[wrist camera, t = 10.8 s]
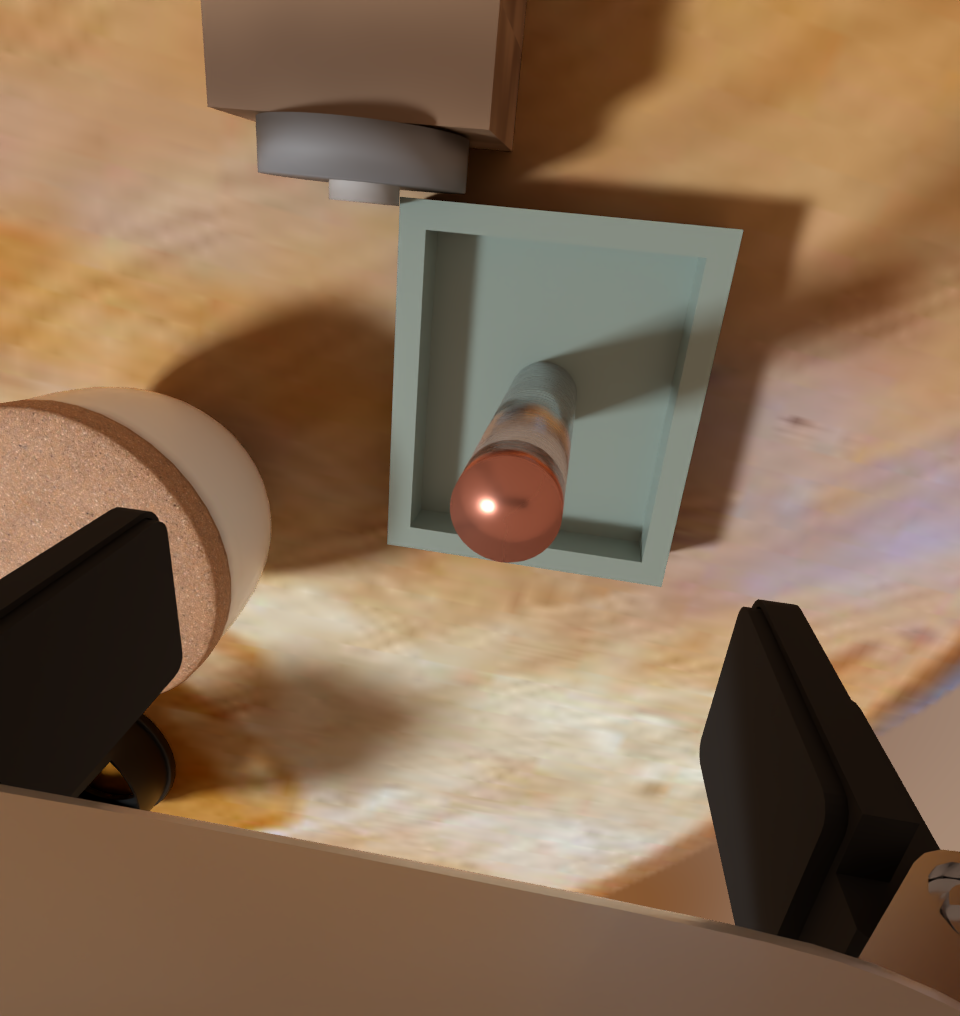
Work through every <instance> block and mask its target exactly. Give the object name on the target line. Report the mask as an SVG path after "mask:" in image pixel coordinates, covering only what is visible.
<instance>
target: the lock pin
mask: <svg viewBox="0 0 960 1016" xmlns="http://www.w3.org/2000/svg"><path fill="white" fill-rule="evenodd" d="M576 401H577V389H576V385H575V382H574V380H573V378H572V377H571V375H570V374H569V373H568V372H567V371H566V370H565V369H564V368H563V367H561V366H559V365H557V364H555V363H551V362H536V363H532V364H530V365H528V366H526V367H524V368H523V369H522V370H521V371H520V372H519V373H518V374H517V375H516V377H515V378H514V380H513V382H512V384H511V385H510V387H509V389H508V391H507V393H506V394H505V396H504V398H503V400H502V402H501V403H500V405H499V407H498V409H497V411H496V413H495V414H494V416H493V418H492V420H491V422H490V423H489V425H488V427H487V429H486V431H485V432H484V434H483V436H482V438H481V440H480V442H479V443H478V445H477V447H476V449H475V451H474V452H473V454H472V456H471V458H470V460H469V462H468V463H467V465H466V467H465V469H464V471H463V472H462V474H461V476H460V478H459V480H458V481H457V483H456V485H455V487H454V490H453V492H452V496H451V501H450V515H451V520H452V523H453V526H454V528H455V531H456V532H457V534H458V536H459V537H460V538H461V540H462V541H463V542H464V543H465V544H466V545H467V546H468V547H469V548H470V549H471V550H473V551H474V552H476V553H477V554H479V555H481V556H483V557H485V558H487V559H490V560H493V561H498V562H506V563H511V562H521V561H525V560H528V559H531V558H533V557H535V556H537V555H539V554H540V553H542V552H543V551H544V550H546V549H547V548H548V547H549V546H550V545H551V544H552V542H553V541H554V540H555V538H556V536H557V534H558V532H559V530H560V527H561V522H562V516H563V508H564V500H565V491H566V483H567V475H568V467H569V459H570V450H571V442H572V434H573V426H574V417H575V409H576Z"/></svg>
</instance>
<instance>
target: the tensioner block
mask: <svg viewBox="0 0 960 1016" xmlns="http://www.w3.org/2000/svg"><path fill="white" fill-rule="evenodd" d="M526 3H527V0H201V10H202V26H203V41H204V57H205V72H206V87H207V103H208V107H211V108H214V109H217V110H220V111H223V112H226V113H230V114H233V115H236V116H239V117H242V118H245V119H249V120H252V121H255V122H256V136H257V161H258V172H259V173H264V174H269V175H276V176H283V177H290V178H297V179H305V180H313V181H322V182H329V199H334V200H343V201H353V202H363V203H373V204H383V205H394V206H399V190H409V191H421V192H434V193H449V194H465V193H466V181H467V167H468V154H469V148H479V149H490V150H502V151H512V148H513V138H514V128H515V117H516V107H517V97H518V86H519V76H520V65H521V55H522V45H523V34H524V24H525V14H526Z"/></svg>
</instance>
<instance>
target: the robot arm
mask: <svg viewBox="0 0 960 1016" xmlns="http://www.w3.org/2000/svg"><path fill="white" fill-rule="evenodd" d="M182 658H183V652H182V644H181V635H180V627H179V619H178V611H177V603H176V595H175V587H174V579H173V571H172V562H171V554H170V546H169V538H168V531H167V527H166V525H165V524H164V523H163V522H160V521H159V519H158V517H157V516H156V514H154V513H153V512H151V511H144V510H137V509H130V508H123V507H115V508H113V509H111V510H109V511H108V512H106V513H105V514H103V515H101V516H100V517H98V518H97V519H95V520H93V521H92V522H90V523H89V524H87V525H85V526H84V527H82V528H81V529H79V530H77V531H76V532H74V533H73V534H71V535H70V536H68V537H66V538H65V539H63V540H62V541H60V542H58V543H57V544H55V545H54V546H52V547H50V548H49V549H47V550H46V551H44V552H43V553H41V554H39V555H38V556H36V557H35V558H33V559H31V560H30V561H28V562H27V563H25V564H23V565H22V566H20V567H19V568H17V569H16V570H14V571H12V572H11V573H9V574H8V575H6V576H4V577H3V578H1V579H0V1016H960V852H958V851H949V850H940V848H939V847H938V845H937V843H936V841H935V840H934V838H933V836H932V834H931V833H930V831H929V829H928V827H927V825H926V824H925V822H924V820H923V819H922V817H921V815H920V813H919V811H918V810H917V808H916V806H915V804H914V802H913V801H912V799H911V797H910V796H909V794H908V792H907V790H906V788H905V787H904V785H903V783H902V781H901V779H900V778H899V776H898V774H897V772H896V771H895V769H894V767H893V765H892V764H891V762H890V760H889V758H888V756H887V755H886V753H885V751H884V749H883V748H882V746H881V744H880V742H879V741H878V739H877V737H876V735H875V733H874V732H873V730H872V728H871V726H870V725H869V723H868V721H867V719H866V718H865V716H864V714H863V712H862V710H861V709H860V708H859V707H858V705H857V704H856V703H855V702H853V701H852V700H851V699H850V697H849V695H848V693H847V691H846V690H845V688H844V686H843V684H842V682H841V681H840V679H839V677H838V675H837V673H836V672H835V670H834V668H833V666H832V664H831V663H830V661H829V659H828V657H827V656H826V654H825V652H824V650H823V648H822V647H821V645H820V643H819V641H818V639H817V638H816V636H815V634H814V632H813V630H812V629H811V627H810V625H809V623H808V621H807V620H806V618H805V616H804V614H803V612H802V611H801V609H800V608H799V606H798V605H794V604H787V603H780V602H773V601H766V600H759V599H758V600H757V601H755V603H754V604H753V606H752V608H749V607H742V608H741V610H740V611H739V614H738V617H737V620H736V624H735V627H734V630H733V634H732V637H731V640H730V644H729V647H728V650H727V654H726V657H725V661H724V664H723V667H722V671H721V674H720V677H719V681H718V684H717V687H716V691H715V694H714V698H713V701H712V704H711V708H710V711H709V714H708V718H707V721H706V724H705V728H704V731H703V735H702V738H701V743H700V765H701V770H702V774H703V779H704V783H705V788H706V793H707V797H708V802H709V807H710V811H711V816H712V820H713V825H714V830H715V834H716V839H717V843H718V848H719V853H720V857H721V862H722V866H723V871H724V875H725V880H726V885H727V889H728V894H729V898H730V903H731V908H732V912H733V917H734V921H735V925H731V924H726V923H722V922H717V921H713V920H708V919H704V918H699V917H695V916H690V915H685V914H680V913H675V912H670V911H665V910H660V909H655V908H650V907H645V906H641V905H636V904H631V903H626V902H622V901H617V900H612V899H608V898H603V897H597V896H592V895H587V894H582V893H577V892H572V891H566V890H561V889H556V888H551V887H546V886H541V885H536V884H530V883H525V882H520V881H515V880H510V879H505V878H499V877H494V876H489V875H484V874H479V873H474V872H469V871H463V870H458V869H453V868H448V867H443V866H438V865H433V864H427V863H422V862H417V861H412V860H407V859H401V858H396V857H391V856H386V855H380V854H375V853H370V852H364V851H359V850H354V849H349V848H343V847H338V846H333V845H327V844H322V843H317V842H312V841H306V840H301V839H296V838H290V837H285V836H280V835H274V834H269V833H264V832H258V831H253V830H248V829H242V828H237V827H232V826H226V825H221V824H216V823H210V822H205V821H199V820H194V819H189V818H183V817H178V816H173V815H167V814H162V813H156V812H151V811H145V810H140V809H134V808H129V807H123V806H118V805H112V804H107V803H101V802H96V801H90V800H85V799H79V798H74V797H70V796H71V795H72V794H73V792H74V791H75V790H76V789H77V788H78V787H79V786H80V784H81V783H82V782H83V781H84V780H85V779H86V778H87V776H88V775H89V774H90V773H91V772H92V771H93V770H94V768H95V767H96V766H97V765H98V764H99V763H100V762H101V760H102V759H103V758H104V757H105V756H106V755H107V754H108V753H109V751H110V750H111V749H112V748H113V747H114V746H115V745H116V743H117V742H118V741H119V740H120V739H121V738H122V737H123V735H124V734H125V733H126V732H127V731H128V730H129V729H130V727H131V726H132V725H133V724H134V723H135V722H136V721H137V719H138V718H139V717H140V716H141V715H142V714H143V713H144V711H145V710H146V709H147V708H148V707H149V706H150V705H151V703H152V702H153V701H154V700H155V699H156V698H157V697H158V695H159V694H160V693H161V692H162V691H163V690H164V689H165V687H166V686H167V685H168V684H169V683H170V682H171V681H172V679H173V678H174V677H175V676H176V674H177V673H178V671H179V669H180V667H181V663H182Z"/></svg>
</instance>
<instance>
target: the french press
mask: <svg viewBox="0 0 960 1016" xmlns="http://www.w3.org/2000/svg"><path fill="white" fill-rule="evenodd" d="M109 762H110V763H111V764H112V765H113V766H114V767H115V768H116V769H117V770H118V771H119V772H120V773H121V774H122V776H123V777H124V779H125V780H126V781H127V783H128V785H129V787H130V789H131V791H132V793H133V794H132V795H123V796H119V795H112V794H108V793H104V792H101V791H99V790H96V789H94V788H92V787H90V786H88V785H89V784H90V783H91V782H92V781H93V780H94V779H95V778H96V776H97V775H98V774H99V773H100V772H101V771H102V770H103V769H104V768H105V767H106V765H107V764H108V763H109ZM174 778H175V762H174V758H173V754H172V751H171V749H170V747H169V745H168V743H167V741H166V739H165V738H164V737H163V735H162V734H161V732H160V731H159V730H158V728H157V727H156V726H155V725H154V724H153V723H152V722H151V721H150V720H149V719H148V718H147V717H145V716H144V715H143V714H142V715H141V716H140V717H139V718H138V719H137V721H136V722H135V723H134V724H133V725H132V726H131V727H130V729H129V730H128V731H127V732H126V733H125V734H124V735H123V737H122V738H121V739H120V740H119V741H118V742H117V743H116V745H115V746H114V747H113V748H112V749H111V750H110V751H109V753H108V754H107V755H106V756H105V757H104V758H103V759H102V760H101V762H100V763H99V764H98V765H97V766H96V767H95V768H94V770H93V771H92V772H91V773H90V774H89V775H88V776H87V778H86V779H85V780H84V781H83V782H82V783H81V784H80V786H79V787H78V788H77V789H76V790H75V791H74V792H73V794H72V795H71V796H70V797H74V798H79V799H85V800H90V801H96V802H101V803H107V804H112V805H118V806H123V807H129V808H134V809H140V810H145V811H150V810H151V809H152V808H153V806H155V805H157V804H158V803H159V802H160V801H162V800H163V799H164V798H165V797H166V795H167V794H168V792H169V791H170V789H171V787H172V785H173V782H174Z"/></svg>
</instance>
